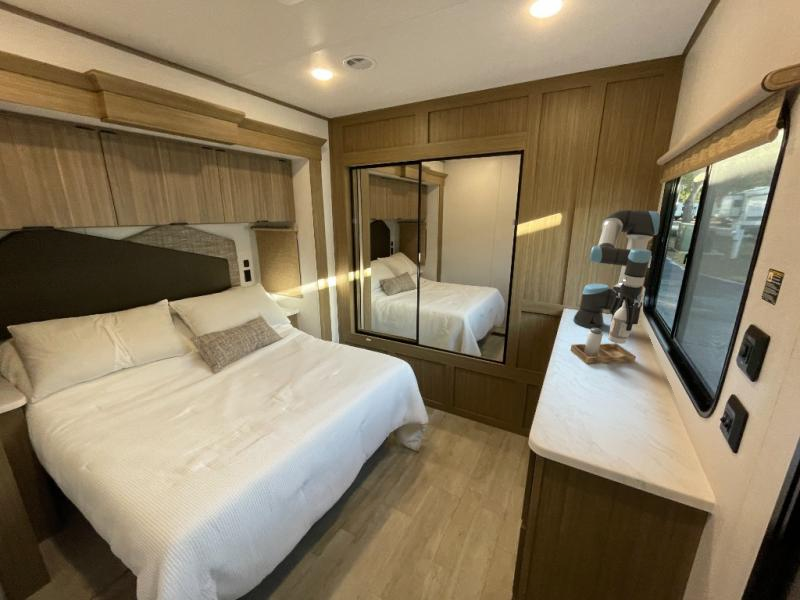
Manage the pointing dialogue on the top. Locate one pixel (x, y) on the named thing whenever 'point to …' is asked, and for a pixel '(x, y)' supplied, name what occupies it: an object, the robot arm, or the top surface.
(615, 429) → the top surface
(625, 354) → the caddy
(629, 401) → the top surface
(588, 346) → the white and grey cylinder
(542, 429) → the top surface
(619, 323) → the bath foam
